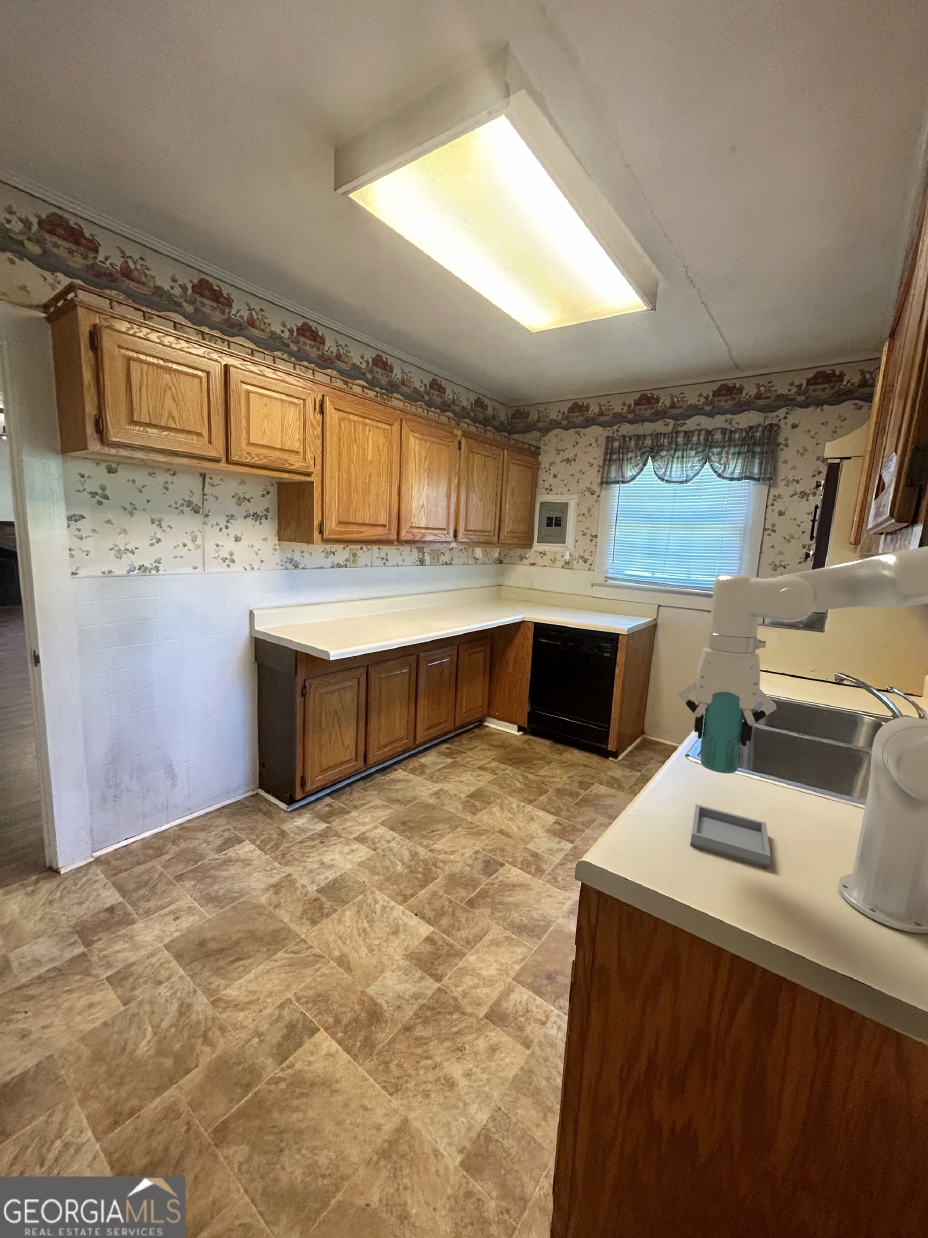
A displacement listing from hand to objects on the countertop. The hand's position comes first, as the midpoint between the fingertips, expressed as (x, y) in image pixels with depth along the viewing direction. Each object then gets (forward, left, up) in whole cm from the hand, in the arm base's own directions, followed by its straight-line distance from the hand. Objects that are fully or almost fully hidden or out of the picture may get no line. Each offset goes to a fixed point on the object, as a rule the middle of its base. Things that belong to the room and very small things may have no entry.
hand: (721, 739), depth 91 cm
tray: (-4, -6, -22) cm, 23 cm away
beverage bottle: (0, 0, -7) cm, 7 cm away
